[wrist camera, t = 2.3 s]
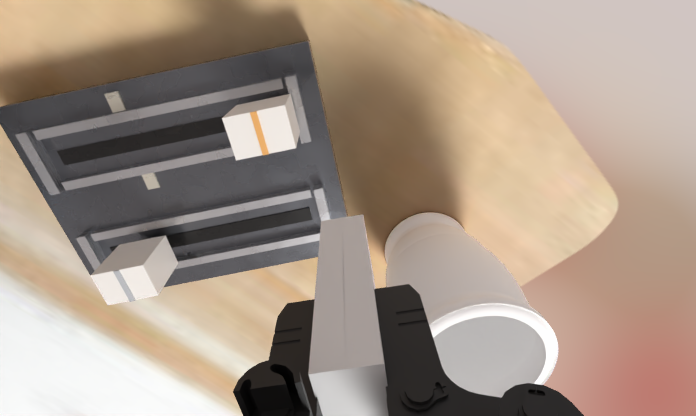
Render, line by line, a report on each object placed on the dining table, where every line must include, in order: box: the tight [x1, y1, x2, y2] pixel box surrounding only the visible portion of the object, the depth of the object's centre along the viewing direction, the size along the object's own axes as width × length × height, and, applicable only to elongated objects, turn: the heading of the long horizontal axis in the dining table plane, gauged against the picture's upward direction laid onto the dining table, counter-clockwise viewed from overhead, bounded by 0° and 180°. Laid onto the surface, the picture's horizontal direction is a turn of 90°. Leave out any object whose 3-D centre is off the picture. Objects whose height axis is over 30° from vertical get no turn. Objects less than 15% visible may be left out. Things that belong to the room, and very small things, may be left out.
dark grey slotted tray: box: [0, 40, 348, 287], centre depth 32 cm, size 24×18×4 cm
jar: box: [385, 212, 558, 398], centre depth 32 cm, size 11×10×15 cm
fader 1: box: [90, 235, 178, 305], centre depth 31 cm, size 4×3×6 cm
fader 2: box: [222, 94, 300, 161], centre depth 27 cm, size 4×3×6 cm
